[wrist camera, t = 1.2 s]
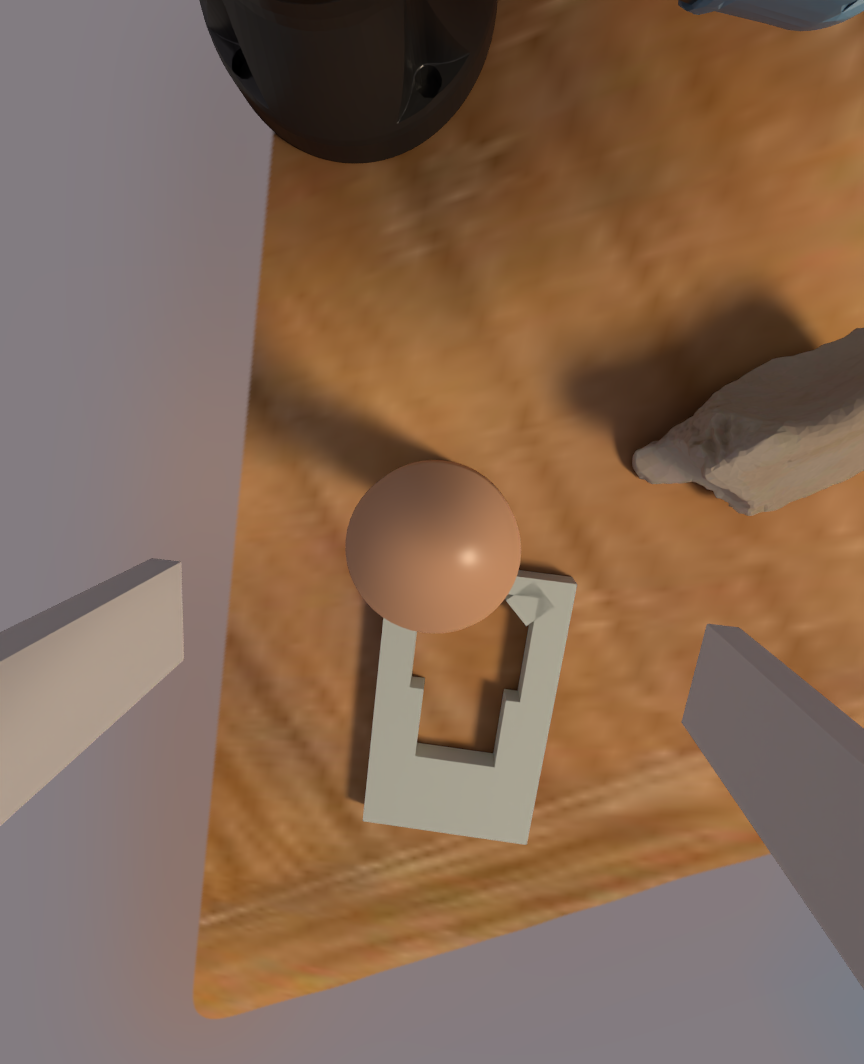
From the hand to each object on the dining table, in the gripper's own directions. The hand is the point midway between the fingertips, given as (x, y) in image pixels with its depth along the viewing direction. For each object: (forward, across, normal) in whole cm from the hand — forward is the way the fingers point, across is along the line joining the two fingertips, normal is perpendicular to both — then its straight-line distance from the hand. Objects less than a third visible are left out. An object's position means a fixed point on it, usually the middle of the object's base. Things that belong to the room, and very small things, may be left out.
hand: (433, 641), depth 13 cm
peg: (+20, 0, 0) cm, 21 cm away
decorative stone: (+21, +18, +6) cm, 29 cm away
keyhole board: (+20, +2, -14) cm, 25 cm away
